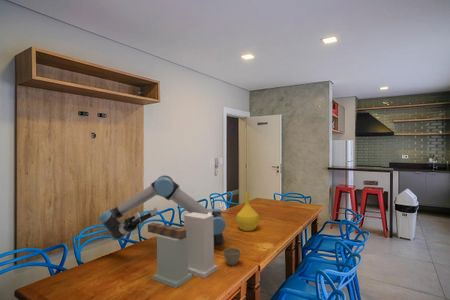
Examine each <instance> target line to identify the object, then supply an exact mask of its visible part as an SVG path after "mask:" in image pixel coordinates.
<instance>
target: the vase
mask: <svg viewBox="0 0 450 300" xmlns="http://www.w3.org/2000/svg"><path fill="white" fill-rule="evenodd" d="M235 218H236V219H235V220H236V223H237V225H238V227H239V228H240V229H241V231H243V232H244V231H245V232H251V231H254V230H255V229H256V228H257V226H258V224H259V220H260V216H259V214H258V213H257V211H256V210H254V209H253V207H252V206H251V204H250V193H249V192H245V203H244V206H243V207H242V208H241V209H240V211H239V212H238V213H237V214H236V217H235Z"/></svg>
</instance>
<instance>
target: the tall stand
mask: <svg viewBox="0 0 450 300" xmlns="http://www.w3.org/2000/svg"><path fill="white" fill-rule="evenodd" d="M183 223H184V225H183V226H184V227H183V229H186V236H188V273H191V274H192V276H196V277H199V278H202V279H205V278H207V277H209V276H210V275H211V274H213V273H214V272H216V271H218V269H219V267H218V266H219V265H217V264H215V249H214V248H215V247H214V246H215V245H214V229H213V215H208V214H202V213H195V212H193V213H187V214H184V215H183Z"/></svg>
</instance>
